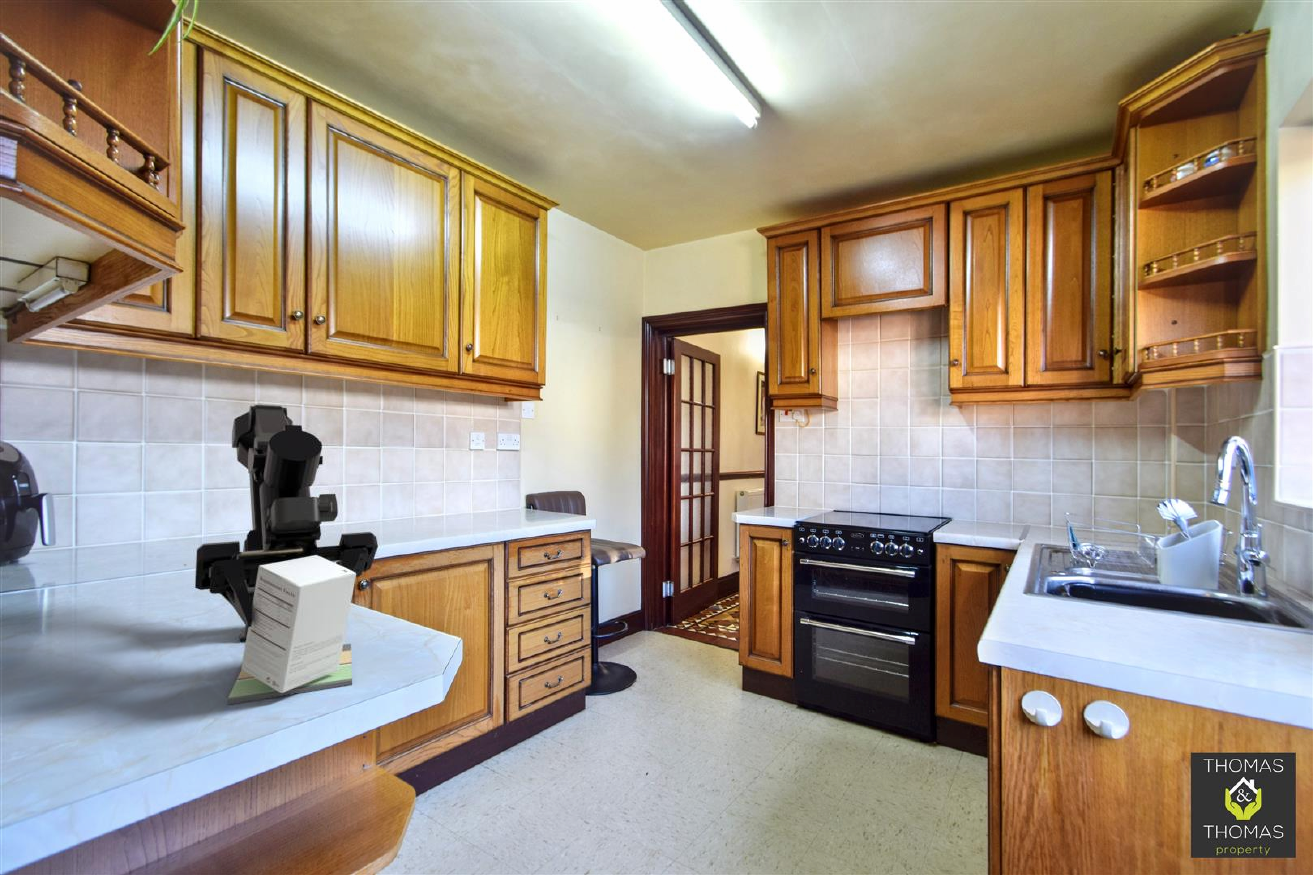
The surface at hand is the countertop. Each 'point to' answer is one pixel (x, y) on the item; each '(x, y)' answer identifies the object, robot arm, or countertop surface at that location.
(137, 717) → the countertop surface
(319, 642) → the supplement box
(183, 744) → the countertop surface
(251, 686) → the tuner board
